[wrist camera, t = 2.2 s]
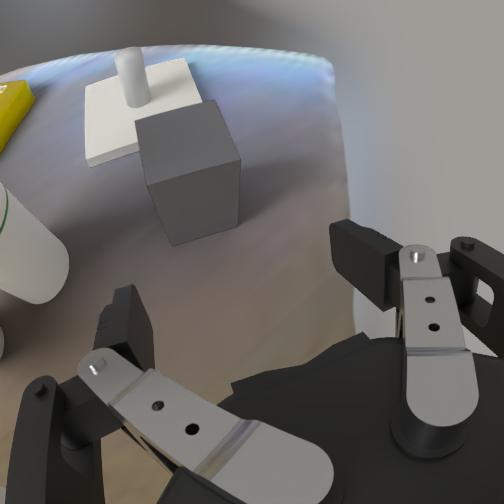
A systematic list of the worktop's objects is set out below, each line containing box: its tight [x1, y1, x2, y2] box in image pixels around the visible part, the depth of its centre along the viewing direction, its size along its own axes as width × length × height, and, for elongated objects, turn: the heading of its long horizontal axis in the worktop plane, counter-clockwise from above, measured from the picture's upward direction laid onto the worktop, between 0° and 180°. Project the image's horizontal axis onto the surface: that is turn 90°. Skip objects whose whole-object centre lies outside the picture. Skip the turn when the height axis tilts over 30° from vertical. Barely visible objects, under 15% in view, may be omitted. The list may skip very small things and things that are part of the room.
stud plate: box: [85, 47, 202, 168], centre depth 30 cm, size 14×14×8 cm
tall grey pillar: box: [134, 100, 241, 246], centre depth 25 cm, size 6×6×10 cm
